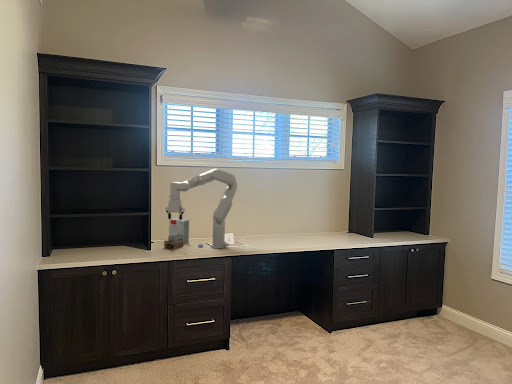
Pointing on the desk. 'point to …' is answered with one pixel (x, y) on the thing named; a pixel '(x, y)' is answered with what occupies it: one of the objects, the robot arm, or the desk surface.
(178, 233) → the hard drive box
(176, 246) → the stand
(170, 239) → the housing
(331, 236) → the desk surface
